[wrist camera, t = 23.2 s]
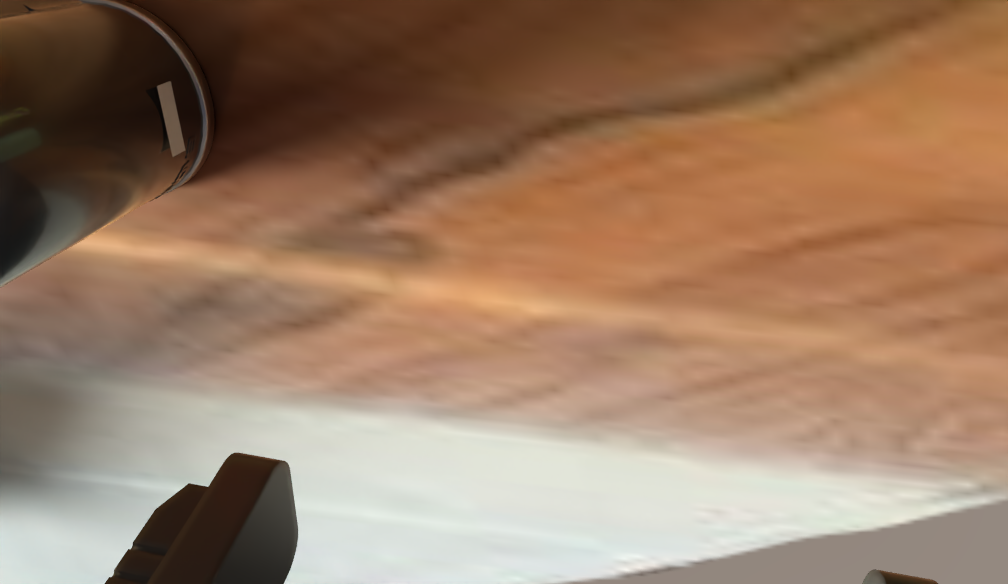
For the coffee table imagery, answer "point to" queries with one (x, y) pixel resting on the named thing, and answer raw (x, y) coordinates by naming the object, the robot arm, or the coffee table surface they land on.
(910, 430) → the coffee table surface
